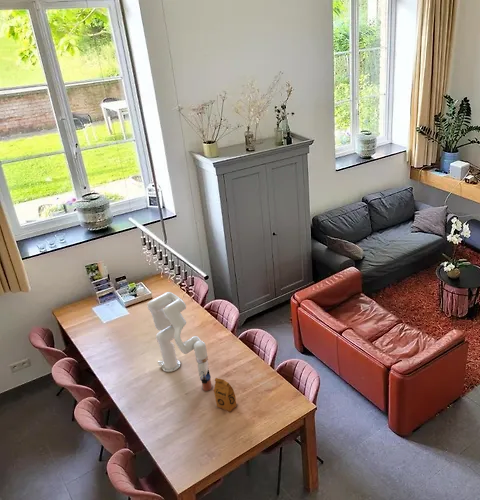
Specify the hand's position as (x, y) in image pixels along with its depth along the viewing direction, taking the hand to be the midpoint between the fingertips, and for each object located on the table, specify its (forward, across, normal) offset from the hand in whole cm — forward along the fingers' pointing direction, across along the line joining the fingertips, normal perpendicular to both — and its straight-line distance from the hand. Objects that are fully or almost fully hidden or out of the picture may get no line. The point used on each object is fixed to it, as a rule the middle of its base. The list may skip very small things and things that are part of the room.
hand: (206, 378), depth 355 cm
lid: (-1, 0, 0) cm, 1 cm away
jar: (+8, 0, 0) cm, 8 cm away
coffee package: (+9, +18, +16) cm, 25 cm away
